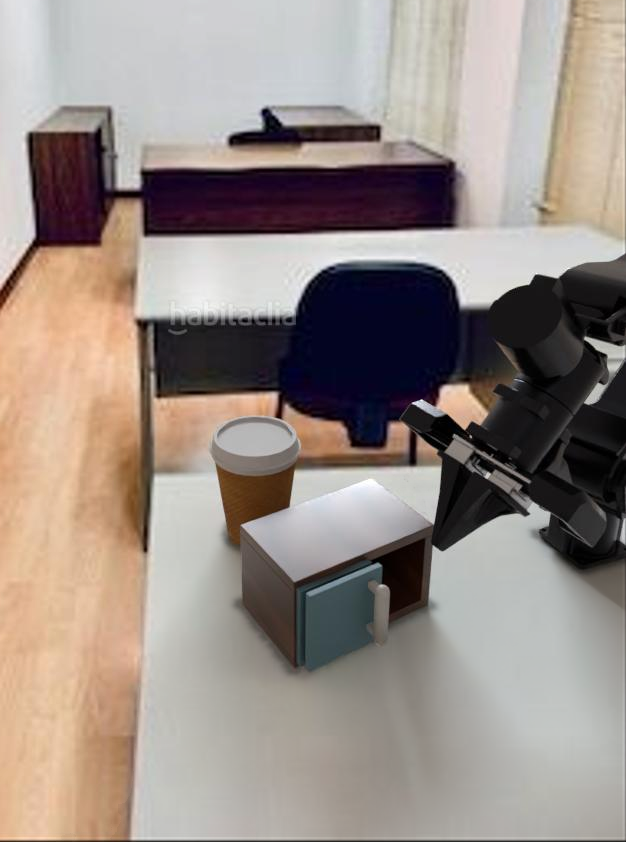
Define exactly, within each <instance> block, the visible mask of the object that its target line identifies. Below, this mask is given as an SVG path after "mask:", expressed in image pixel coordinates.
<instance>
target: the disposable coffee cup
mask: <svg viewBox="0 0 626 842" xmlns="http://www.w3.org/2000/svg"><path fill="white" fill-rule="evenodd" d="M208 448H209V453H210V456H211V458H212V460H213V461H214V464H215V469H216V475H217V480H218V486H219V491H220V498H221V502H222V507H223V513H224V518H225V524H226V529H227V536H228V538H229V540H230V541H231V543H232V544H233V545H235V546H237V547H239V548H241V541H240V525H242V524H245V523H247V522H250V521H253V520H256V519H258V518H261V517H264V516H267V515H270V514H272V513H275V512H278V511H281V510H284V509H286V508H289V507H291V500H292V491H293V485H294V478H295V472H296V471H295V470H296V466H297V465H296V464H297V460H298V458H299V456H300V454H301V450H302V443H301V439H300V438H299V437H298V434H297V431H296V429H295V428H294V426H293V425H291V424H290V423H288V422H287V421H286V420H283V419H280V418H277V417H275V416H267V415H257V414H255V415H254V414H253V415H243V416H238V417H234V418H231V419H229V420H226V421H224V422H222V423H221V424H220V425H219V426H217V427H216V429H215V430H214V432H213V436H212V438H211V440H210V442H209V447H208Z"/></svg>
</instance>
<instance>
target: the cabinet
mask: <svg viewBox="0 0 626 842" xmlns="http://www.w3.org/2000/svg"><path fill="white" fill-rule="evenodd" d="M433 527H434V523H432V522H431V521H430V520H429V519H427V518H426V517H424V516H423V515H422V514H420V513H419V512H418V511H416V510H415V509H414V508H412V507H411V506H410V505H408V504H407V503H405V502H404V501H403V500H401V499H400V498H399V497H397V495H395V494H393V492H391V491H390V490H388V489H387V488H385V487H384V486H383V485H382V484H380V483H379V482H377V481H376V480H375V479H374V478H367V479H364V480H362V481H358V482H356V483H354V484H351V485H348V486H346V487H343V488H340V489H337V490H334V491H331V492H329V493H328V492H327V493H325V494H322V495H320V496H318V497H317V496H316V497H314V498H312V499H309V500H306V501H303V502H301V503H298V504H295V505H293V506H290V507H289V508H286V509H284V510H281V511H278V512H275V513H272V514H270V515H267V516H264V517H261V518H258V519H256V520H253V521H250V522H247V523H245V524H242V525H240V541H241V547H240V568H241V569H240V570H241V604H242V606H243V607H244V609H246V611H247V612H248V613H249V614H250V616H251V617H252V618H253V619H254V621H255V622H256V623H257V624H258V626H259V627H260V628H261V630H262V631H263V632H264V633H265V634H266V636H267V637H268V638H269V639H270V641H271V642H272V643H273V645H275V647H276V648H277V649H278V651H279V652H280V653H281V654H282V656H283V657H284V658H285V659H286V660H287V661H288V663H289V664H290V665H291V666H292V668H293V669H296V668H298V667H299V668H301V667H303V666H305V628H306V593H307V592H309V591H312V590H314V589H316V588H319V587H321V586H324V585H326V584H328V583H331V582H333V581H335V580H338V579H340V578H343V577H345V576H347V575H350V574H352V573H354V572H357V571H359V570H361V569H364V568H366V567H369V566H371V565H373V564H376V563H379V564H381V565H382V585H386V586H387V587H388V588H389V590H390V601H389V619H388V625H389V624H391V623H393V622H396V621H398V620H400V619H402V618H404V617H406V616H408V615H410V614H413V613H415V612H417V611H418V610H421V609H423V608H425V607H428V606H429V600H430V587H431V586H430V585H431V572H432V562H433V561H432V560H433V559H432V558H433V550H434V549H433V548H434V546H433V545H432V544H431V538H432V533H433Z"/></svg>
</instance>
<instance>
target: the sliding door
mask: <svg viewBox="0 0 626 842" xmlns="http://www.w3.org/2000/svg"><path fill="white" fill-rule="evenodd" d="M389 601H390V590H389V588H388V587H387V586H386V585H382V565H381V564H379V563H376V564H373V565H371V566H369V567H366V568H364V569H361V570H359V571H357V572H354V573H352V574H350V575H347V576H345V577H343V578H340V579H338V580H335V581H333V582H331V583H328V584H326V585H324V586H321V587H319V588H316V589H314V590H312V591H309V592H307V593H306V628H305V665H304V666H305V667H304V668H305V669H306V671H307V672H308V673H310V672H313V671H315V670H317V669H319V668H321V667H323V666H325V665H328V664H329V663H331V662H333V661H335V660H337V659H340V658H342V657H344V656H345V655H348V654H350V653H352V652H354V651H356V650H358V649H361V648H362V647H365V646H367V645H369V644H371V643H374V644H375V645H376V646H378V647H382V646H385V645H386V644H387V642H388V635H389V634H388V633H389V624H388V619H389Z"/></svg>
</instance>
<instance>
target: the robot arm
mask: <svg viewBox="0 0 626 842" xmlns="http://www.w3.org/2000/svg"><path fill="white" fill-rule="evenodd" d="M491 303H492V304H491V305H490V307H489V309H488V312H487V313H486V314H487V315H486V327H487V331H488V333H489V334H490V337H491V338H492V339H493V341H494V342H495V343H496V345H497V346H498V347H499V348H500V350H501V351H502V352H503V354H504V355H505V356H506V357H507V359H508V360H509V361H510V363H511V364H512V365H513V366H514V368H515V369H516V370H517V371H518V372H517V373H516V374H515V376H514V377H513V379H512V380H511V381H510V383H509V384H508V385H505V384H503V383H502V382H498V383H497V385H496V386H495V388H493V389H492V393H493V394H494V395H495V396H496V397H497V398H498V399H497V401H496V402H495V404H494V405H493V407H492V408H491V409H490V411H489V412H488V414H487V415H486V417H485V418H484V419H483V420H482V422H481V423H480V424H479V423H476V422H475V421H473V420H471V421H470V422H469V424H468V425H467V426H466V428H463V427H462V426H461V425H460V424H459V423H458V422H457V421H456V420H454V418H452V417H451V416H450V415H449V414H448V413H446V412H444V411H443V410H441V409H440V408H438V407H436V406H434V405H432V404H430V403H429V402H427V401H425V400H423V399H420V400H417V401H414V402H411V403H410V404H409V405H408V406H407V407H406V409H405V410H404V411H403V413H402V414H401V416H400V417H399V421H400V422H402V423H403V424H404V425H405V426H406V427H408V428H409V429H410V430H411V431H412V432H414V434H415V435H417V436H418V437H419V438H420V439H421V440H422V441H424V442H425V443H426V444H427V445H429V446H430V447H432V448H433V449H435V450H437V452H436V455H437V457H439V458H440V459H441V468H440V469H441V470H440V480H439V492H438V499H437V504H436V510H435V516H434V522H433V524H434V527H433V533H432V538H431V544H432V545H433V547H435V548H436V549H437V550H439V551H440V552H445V551H446V550H448V549H449V548H451V547H453V546H454V545H455V544H457V543H459V542H460V541H461V540H463V539H464V538H466V537H467V536H469V535H471V534H472V533H474V532H475V531H476V530H478V529H479V528H481V527H483V526H484V525H486V524H488V523H490V522H492V521H493V520H495V519H498V518H500V517H503V516H504V517H505V516H510V515H517V514H518V515H520V516H522V517H524V518H527V517H529V516H531V513H530V512H529V511H528V509H529V508H530V507H531V505H532V504H535V505H536V506H538V508H539V509H541V510H542V511H544V512H548V513H550V514H549V521H548V525H546V526H542V527H539V529H538V534H539V535H540V536H541V538H542V539H544V540H546V542H548V543H549V544H550V545H551V546H552V547H553V548H555V550H557V551H558V552H559V553H561V554H562V555H563V556H564V557H565V558H567V559H568V560H569V561H571V563H572V564H574V565H575V566H576V567H577V568H578V569H582V570H585V569H588V568H592V567H596V566H599V565H602V564H607V563H609V562H610V563H611V562H613V561H616V560H620V559H623V558H626V544H625V543H624V542H622V541H621V538H622V537H621V536H622V531H623V526H624V521H625V519H626V356H625V357H624V359H623V360H622V362H621V363H620V365H619V366H618V368H617V369H616V371H615V372H614V374H613V375H612V377H611V378H610V370H609V367H608V358H609V355H608V354H607V353H605V352H603V351H600V350H598V349H596V347H595V346H593V345H592V344H591V342H589V341H587V340H586V339H585V338H588V339H592V340H596V341H599V342H602V343H606V344H609V345H612V346H616V347H624V346H626V252H625V253H623V254H622V255H620V256H618V257H617V258H615V259H613V260H609V261H590V262H589V261H587V262H583V263H581V264H580V263H579V264H577V265H574V266H571V267H569V268H567V269H565V270H564V271H563V272H561V273H560V275H559V276H558V277H553V276H549V275H546V274H541V273H535V274H534V275H533V277H532V279H531V281H530V283H529V284H524V285H519V286H516V287H514V288H511V289H509V290H507V291H505V292H504V293H503V294H501V295H500V296H499V297H498V298H497V299H494V300H493V302H491ZM598 384H599V385H602V386H605V387H604V389H603V390H602V392H601V393H600V395H599V396H598V398H597V399H596V400H595V401H593V402H591V403H585V402H586V401H587V399H588V398H589V396H591V394H592V392H593V391H594V390H595V388H596V386H597V385H598ZM487 474H490V475H489V476H488V478H486V476H487Z"/></svg>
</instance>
